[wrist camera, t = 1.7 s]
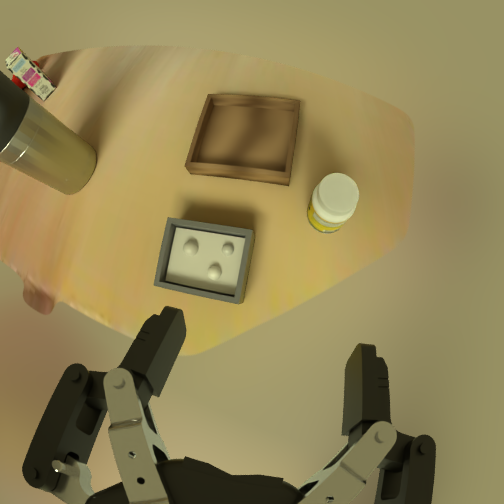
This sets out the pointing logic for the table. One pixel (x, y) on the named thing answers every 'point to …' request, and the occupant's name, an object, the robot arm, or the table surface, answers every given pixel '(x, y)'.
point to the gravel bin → (205, 259)
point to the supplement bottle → (332, 203)
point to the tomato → (19, 82)
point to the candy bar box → (30, 74)
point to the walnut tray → (245, 138)
